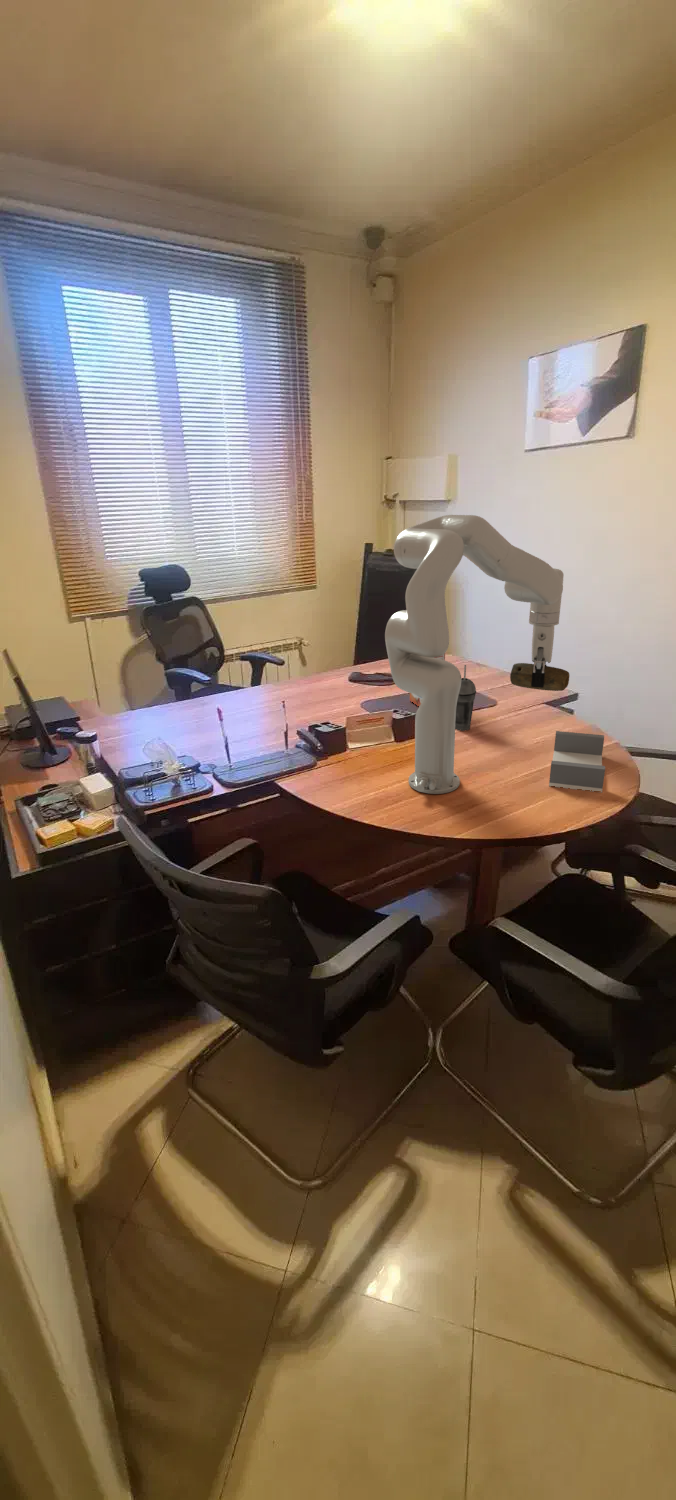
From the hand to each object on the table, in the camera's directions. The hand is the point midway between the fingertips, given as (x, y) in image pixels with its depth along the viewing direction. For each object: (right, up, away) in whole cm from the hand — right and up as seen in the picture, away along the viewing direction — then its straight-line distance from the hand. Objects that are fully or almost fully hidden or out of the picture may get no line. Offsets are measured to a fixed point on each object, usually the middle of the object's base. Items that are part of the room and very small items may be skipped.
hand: (538, 682), depth 171 cm
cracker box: (-25, -4, +37) cm, 45 cm away
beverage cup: (-17, -12, +19) cm, 28 cm away
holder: (+6, -24, -11) cm, 27 cm away
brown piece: (0, -2, +1) cm, 2 cm away
